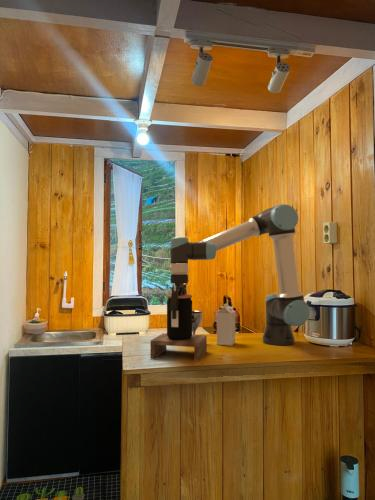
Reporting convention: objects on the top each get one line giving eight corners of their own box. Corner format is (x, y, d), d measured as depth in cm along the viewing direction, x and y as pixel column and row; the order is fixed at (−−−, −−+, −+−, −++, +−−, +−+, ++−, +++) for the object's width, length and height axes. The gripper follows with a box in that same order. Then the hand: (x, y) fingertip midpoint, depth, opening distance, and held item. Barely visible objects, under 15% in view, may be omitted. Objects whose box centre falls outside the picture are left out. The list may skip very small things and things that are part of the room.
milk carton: (216, 344, 174) (216, 304, 175) (221, 341, 181) (221, 302, 182) (231, 346, 172) (231, 304, 172) (235, 343, 178) (235, 303, 179)
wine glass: (202, 342, 181) (202, 311, 181) (201, 345, 173) (201, 313, 173) (186, 341, 182) (186, 310, 182) (184, 345, 174) (184, 313, 174)
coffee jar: (195, 336, 160) (195, 294, 160) (187, 341, 150) (187, 296, 150) (172, 334, 163) (172, 293, 164) (162, 339, 153) (162, 295, 154)
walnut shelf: (206, 351, 161) (206, 335, 162) (198, 361, 146) (198, 343, 146) (162, 348, 166) (162, 333, 167) (150, 357, 151) (150, 340, 151)
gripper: (178, 272, 170) (178, 319, 170) (161, 274, 146) (161, 328, 145) (194, 272, 168) (194, 319, 168) (179, 274, 144) (180, 329, 144)
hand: (179, 324), depth 157 cm, fingers open, 13 cm apart
